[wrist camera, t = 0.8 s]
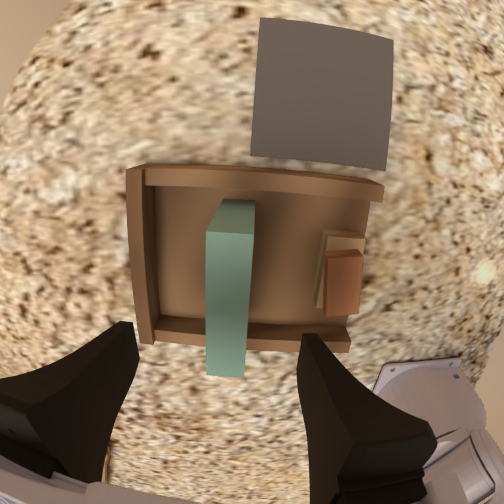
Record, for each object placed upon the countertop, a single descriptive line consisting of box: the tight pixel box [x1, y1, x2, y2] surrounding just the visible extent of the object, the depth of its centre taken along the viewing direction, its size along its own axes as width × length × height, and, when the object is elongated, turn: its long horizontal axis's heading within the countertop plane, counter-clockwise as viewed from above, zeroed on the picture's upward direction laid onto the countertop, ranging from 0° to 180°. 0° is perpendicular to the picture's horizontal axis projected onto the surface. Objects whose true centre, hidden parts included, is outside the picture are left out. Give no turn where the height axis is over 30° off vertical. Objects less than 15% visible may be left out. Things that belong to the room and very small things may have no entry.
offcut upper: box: [323, 249, 363, 317], centre depth 19 cm, size 2×4×1 cm, turn 4°
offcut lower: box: [312, 229, 366, 308], centre depth 20 cm, size 2×5×2 cm, turn 176°
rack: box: [126, 164, 385, 353], centre depth 20 cm, size 15×12×3 cm
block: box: [205, 198, 255, 378], centre depth 18 cm, size 2×8×7 cm, turn 176°
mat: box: [250, 17, 393, 171], centre depth 18 cm, size 9×10×1 cm
